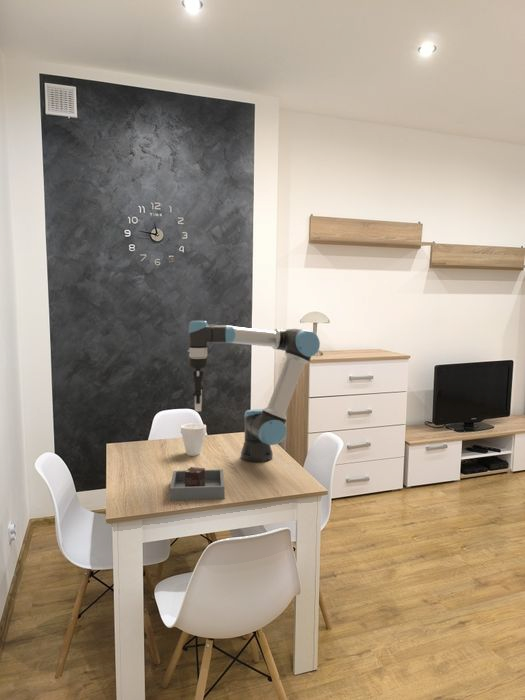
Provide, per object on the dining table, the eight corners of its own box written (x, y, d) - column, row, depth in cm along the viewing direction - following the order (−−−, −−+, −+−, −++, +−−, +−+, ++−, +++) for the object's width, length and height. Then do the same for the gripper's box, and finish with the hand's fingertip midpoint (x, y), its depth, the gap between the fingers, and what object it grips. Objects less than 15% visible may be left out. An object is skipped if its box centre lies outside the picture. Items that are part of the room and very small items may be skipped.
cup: (211, 452, 242) (211, 425, 241) (195, 458, 232) (195, 430, 230) (192, 448, 248) (192, 422, 247) (175, 454, 238) (175, 426, 237)
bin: (222, 480, 203) (222, 469, 202) (224, 498, 183) (224, 486, 183) (173, 481, 201) (173, 470, 200) (169, 500, 181) (169, 488, 180)
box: (205, 486, 194) (205, 468, 193) (199, 491, 188) (199, 472, 188) (190, 484, 196) (190, 466, 195) (184, 490, 190) (184, 471, 189)
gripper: (190, 354, 217) (190, 402, 219) (187, 360, 193) (188, 414, 194) (207, 354, 218) (207, 402, 220) (207, 360, 194) (207, 413, 195)
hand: (198, 407), depth 207 cm, fingers open, 13 cm apart
